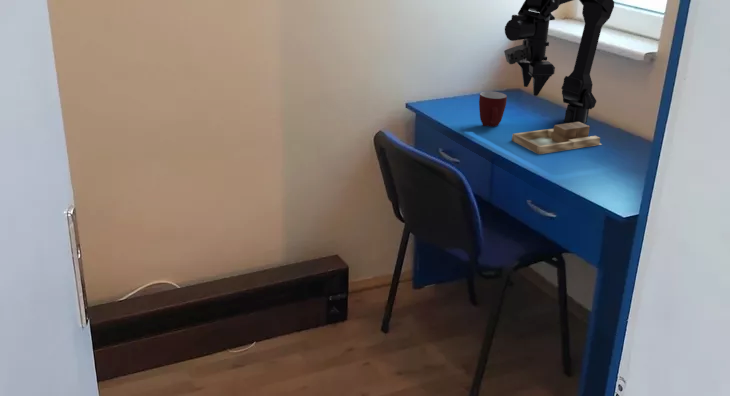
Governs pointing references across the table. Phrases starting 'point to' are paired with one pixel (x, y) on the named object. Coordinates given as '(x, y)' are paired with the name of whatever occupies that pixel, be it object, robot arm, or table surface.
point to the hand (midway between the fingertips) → (530, 91)
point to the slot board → (551, 141)
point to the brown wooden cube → (564, 133)
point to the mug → (492, 107)
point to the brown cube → (580, 129)
